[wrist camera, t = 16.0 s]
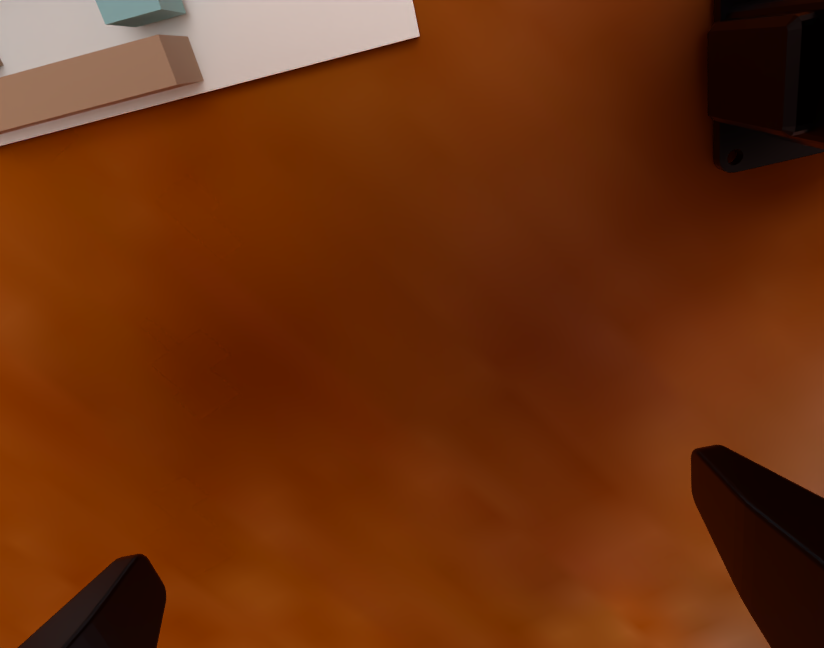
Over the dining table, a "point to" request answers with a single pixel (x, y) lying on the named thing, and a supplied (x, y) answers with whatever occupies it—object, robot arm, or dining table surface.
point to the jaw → (138, 11)
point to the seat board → (168, 53)
